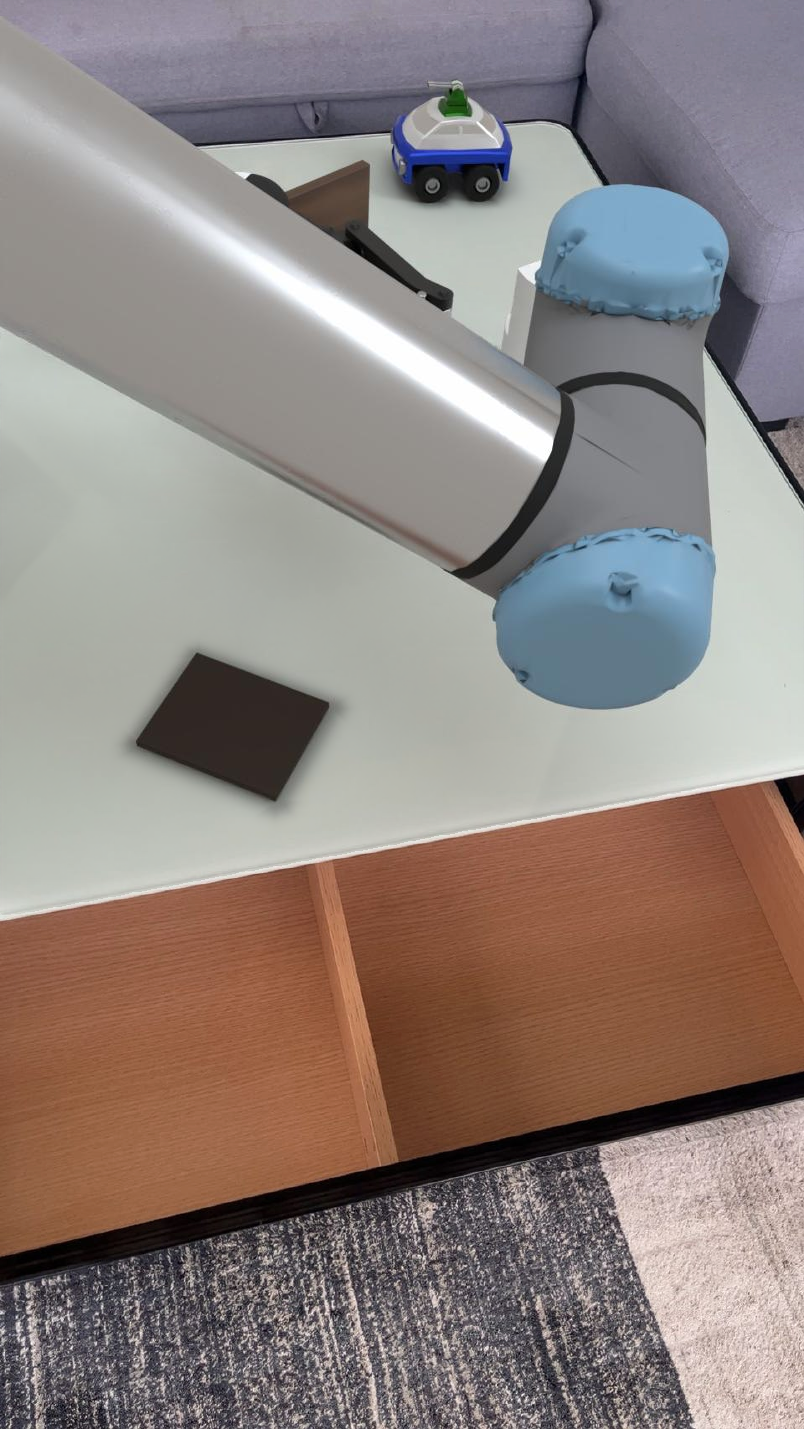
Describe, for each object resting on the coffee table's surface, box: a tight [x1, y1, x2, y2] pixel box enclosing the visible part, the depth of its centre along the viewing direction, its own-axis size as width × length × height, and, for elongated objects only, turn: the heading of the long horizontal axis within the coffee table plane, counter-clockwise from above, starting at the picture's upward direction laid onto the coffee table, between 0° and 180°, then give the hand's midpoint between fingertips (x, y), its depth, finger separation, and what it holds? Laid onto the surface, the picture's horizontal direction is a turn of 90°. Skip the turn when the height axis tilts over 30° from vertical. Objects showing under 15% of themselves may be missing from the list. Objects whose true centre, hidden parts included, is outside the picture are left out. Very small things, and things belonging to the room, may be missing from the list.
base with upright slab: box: [500, 259, 542, 365], centre depth 86 cm, size 9×9×12 cm
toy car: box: [389, 78, 513, 203], centre depth 106 cm, size 9×12×10 cm
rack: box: [284, 159, 371, 231], centre depth 87 cm, size 12×20×12 cm, turn 132°
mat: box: [135, 652, 330, 802], centre depth 70 cm, size 10×8×1 cm
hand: (194, 225), depth 68 cm, fingers closed on medicine bottle, 7 cm apart
